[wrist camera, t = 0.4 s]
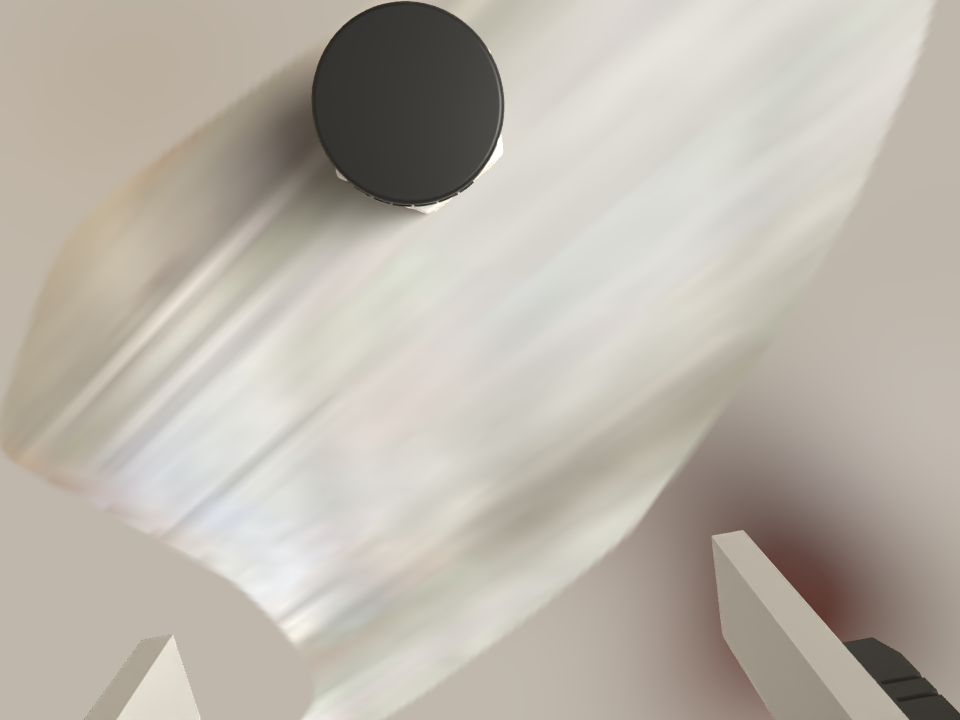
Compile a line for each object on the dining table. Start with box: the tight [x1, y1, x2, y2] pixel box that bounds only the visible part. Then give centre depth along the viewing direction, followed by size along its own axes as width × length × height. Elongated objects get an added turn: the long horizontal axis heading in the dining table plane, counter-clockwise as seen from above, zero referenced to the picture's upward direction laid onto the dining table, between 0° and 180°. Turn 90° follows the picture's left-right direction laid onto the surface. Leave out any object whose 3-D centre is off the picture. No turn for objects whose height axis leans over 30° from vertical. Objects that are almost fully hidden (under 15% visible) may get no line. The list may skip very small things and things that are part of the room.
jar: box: [312, 1, 504, 214], centre depth 34 cm, size 9×8×12 cm
